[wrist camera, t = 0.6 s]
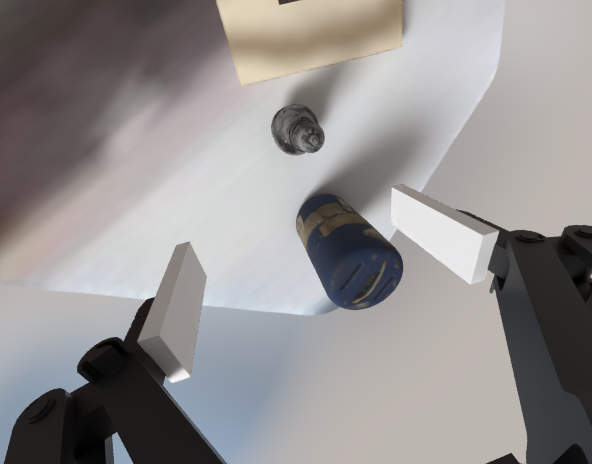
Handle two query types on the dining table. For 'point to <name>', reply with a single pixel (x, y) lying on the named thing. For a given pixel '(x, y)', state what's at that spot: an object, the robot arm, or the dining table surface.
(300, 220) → the canister
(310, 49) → the socket
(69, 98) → the dining table surface
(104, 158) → the dining table surface
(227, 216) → the dining table surface
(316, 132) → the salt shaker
